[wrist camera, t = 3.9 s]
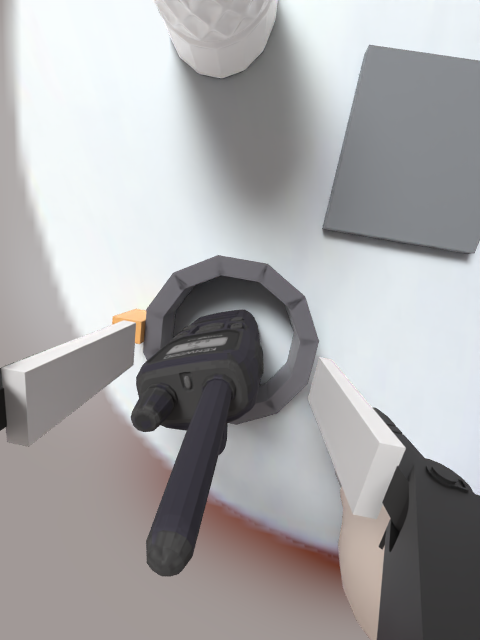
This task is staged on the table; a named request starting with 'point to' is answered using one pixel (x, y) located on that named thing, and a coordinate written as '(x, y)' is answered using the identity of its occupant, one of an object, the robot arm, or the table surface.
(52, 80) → the table surface
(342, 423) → the robot arm
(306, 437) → the table surface
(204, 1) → the white cup
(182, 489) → the two-way radio
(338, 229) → the mat
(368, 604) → the light bulb
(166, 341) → the dock collar
